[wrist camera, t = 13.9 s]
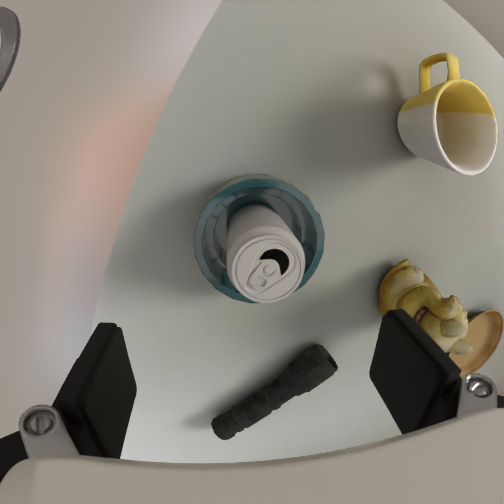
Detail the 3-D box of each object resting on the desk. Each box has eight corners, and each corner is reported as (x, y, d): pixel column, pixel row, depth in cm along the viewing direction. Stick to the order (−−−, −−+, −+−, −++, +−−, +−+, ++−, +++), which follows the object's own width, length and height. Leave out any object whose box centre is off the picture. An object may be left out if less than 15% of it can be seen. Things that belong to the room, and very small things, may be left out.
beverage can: (294, 225, 36) (325, 262, 24) (259, 268, 37) (274, 321, 26) (250, 191, 34) (262, 212, 23) (215, 236, 35) (209, 279, 24)
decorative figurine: (430, 290, 41) (491, 342, 27) (391, 328, 43) (441, 391, 29) (402, 246, 39) (472, 294, 25) (358, 288, 40) (412, 353, 26)
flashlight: (333, 354, 43) (343, 376, 39) (231, 424, 47) (232, 447, 42) (313, 336, 42) (323, 357, 37) (209, 411, 45) (208, 434, 41)
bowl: (202, 281, 38) (199, 305, 32) (197, 174, 34) (191, 180, 28) (306, 278, 39) (319, 300, 33) (311, 173, 35) (327, 179, 29)
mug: (439, 174, 36) (492, 186, 26) (377, 155, 35) (426, 161, 25) (450, 82, 32) (502, 74, 22) (390, 55, 31) (437, 34, 21)
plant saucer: (454, 307, 43) (463, 315, 41) (504, 299, 44) (513, 305, 42) (430, 377, 48) (436, 385, 45) (481, 363, 49) (487, 369, 47)
